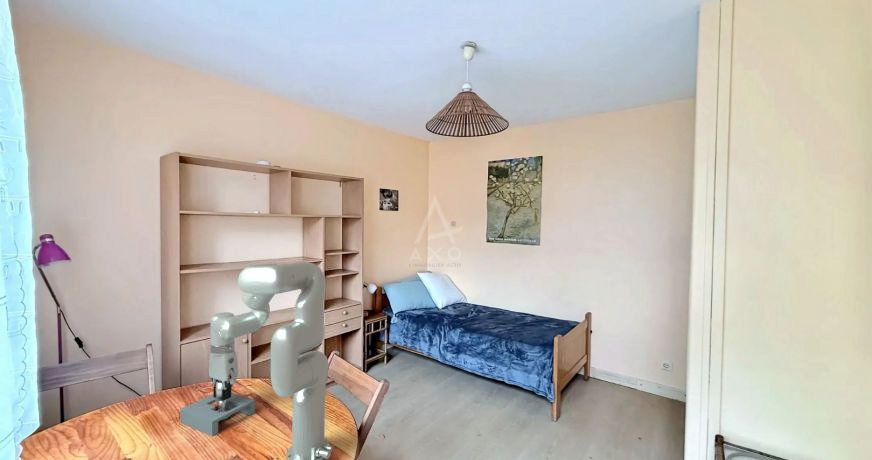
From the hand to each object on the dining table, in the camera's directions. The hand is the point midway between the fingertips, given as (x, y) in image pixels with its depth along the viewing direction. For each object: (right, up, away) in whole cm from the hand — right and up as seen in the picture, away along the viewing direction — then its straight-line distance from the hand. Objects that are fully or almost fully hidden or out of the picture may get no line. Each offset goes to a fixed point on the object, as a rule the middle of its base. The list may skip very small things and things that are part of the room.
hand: (222, 396), depth 125 cm
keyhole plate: (-2, -8, +1) cm, 8 cm away
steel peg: (0, -7, 0) cm, 7 cm away
